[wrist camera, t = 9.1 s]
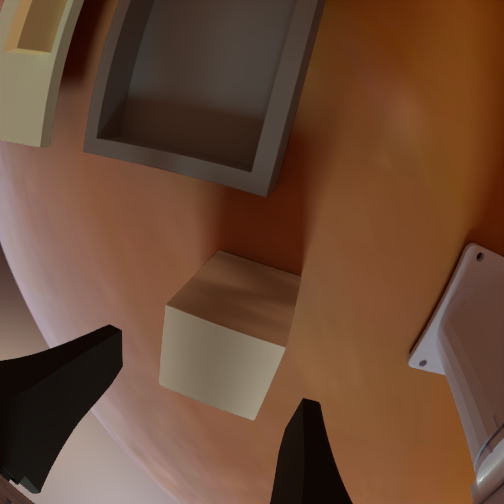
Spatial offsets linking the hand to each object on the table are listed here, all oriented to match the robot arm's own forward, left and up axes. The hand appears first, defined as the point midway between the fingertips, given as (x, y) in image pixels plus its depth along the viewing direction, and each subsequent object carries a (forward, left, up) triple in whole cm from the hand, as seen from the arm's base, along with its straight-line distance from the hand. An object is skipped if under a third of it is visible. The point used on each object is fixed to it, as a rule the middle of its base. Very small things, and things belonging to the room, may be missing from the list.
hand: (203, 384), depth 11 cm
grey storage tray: (+5, -15, -7) cm, 17 cm away
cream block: (0, 0, -7) cm, 7 cm away
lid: (+17, -15, -4) cm, 23 cm away
